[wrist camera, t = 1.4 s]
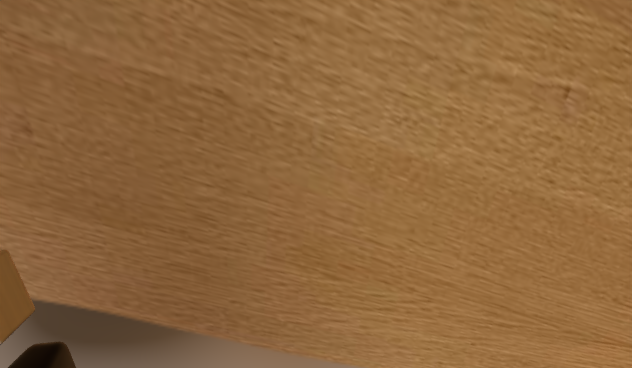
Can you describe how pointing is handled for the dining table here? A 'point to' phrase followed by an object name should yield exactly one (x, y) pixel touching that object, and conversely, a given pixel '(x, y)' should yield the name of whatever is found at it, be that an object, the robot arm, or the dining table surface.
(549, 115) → the dining table surface
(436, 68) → the dining table surface
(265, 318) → the dining table surface
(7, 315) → the lever
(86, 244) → the dining table surface
